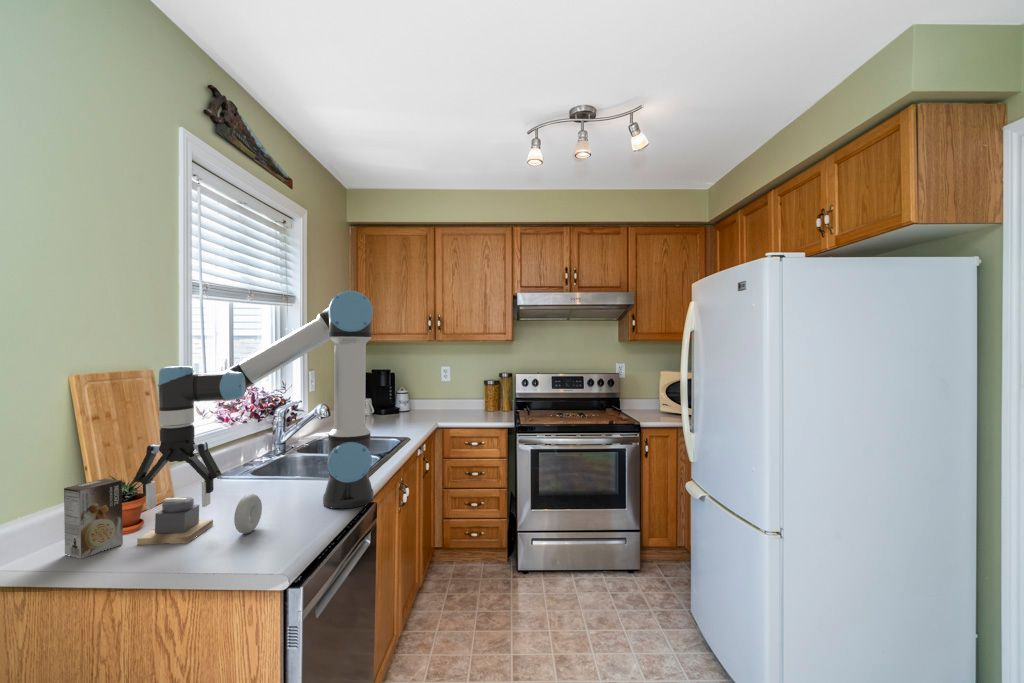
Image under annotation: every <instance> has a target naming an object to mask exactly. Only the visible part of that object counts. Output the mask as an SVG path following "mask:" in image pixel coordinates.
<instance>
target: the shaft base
mask: <svg viewBox="0 0 1024 683" xmlns="http://www.w3.org/2000/svg"><path fill="white" fill-rule="evenodd" d="M212 525H213V526H214V519H199V523H198V524H197V525H195V526H194V527H192V528H191V529H190V530H188V531H187V532H185V533H155V527H154V528H153V529H151V530H150V531H147V532H146V533H144V534H143V535H141V536H139V537H138V538H137V539H136V540H137V541H136V543H137V544H136V545H137V546H138V545H139V546H140V545H142V546H143V545H162V544H163V545H165V544H164V543H170V544H184V543H183V542H189V543H191V540H192V539H193V540H195V539H196V538H197V537H198V535H199V534H200V535H202V534H203V533H204V532H206V531H207V530H208V529H210V528H211V527H213V526H212ZM209 527H210V528H209ZM206 529H207V530H206ZM205 530H206V531H205ZM202 532H203V533H202ZM200 535H199V536H200ZM196 536H197V537H196ZM195 537H196V538H195ZM193 540H192V541H193Z"/></svg>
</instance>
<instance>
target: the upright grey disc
mask: <svg viewBox="0 0 1024 683" xmlns="http://www.w3.org/2000/svg"><path fill="white" fill-rule="evenodd" d="M262 505H263V503H262V500H261V498H260V497H259V495H257V494H255V493H249V494H248V493H247V494H246V495H244V496H243V497H242V498H240V500H239V502H238V503H237V505H236V508H235V512H234V516H233V518H234V519H233V521H234V527H235V529H236V530H237V532H239V533H240V534H244V535H247V534H250V533H251V532H253V531H254V530H255V529H256V528H257V526H258V525H259V522H260V519H261V518H262V510H263V506H262Z"/></svg>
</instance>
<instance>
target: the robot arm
mask: <svg viewBox="0 0 1024 683" xmlns="http://www.w3.org/2000/svg"><path fill="white" fill-rule="evenodd" d="M373 308H374V307H373V304H372V302H371V300H370V299H369V298H368V297H367V296H366V295H365V294H363V293H361V292H359V291H357V290H344V291H341V292H339V293H337V294H336V295H334V297H332V299H331V301H330V302H329V305H328V307H327V308H326V309H324V310H323V311H321V312H319V313H318V314H317V316H316V319H313V320H311V322H309V323H307V324H305V325H303V326H302V327H300V328H298V329H295V330H294V331H292V332H291V333H289V334H287V335H285V336H283V337H282V338H280V339H278V340H276V341H274V342H273V343H272V344H270V345H267V346H266V347H264V348H263V349H260V350H258V351H257V352H255V353H253V354H252V355H249V356H248V357H247V358H244V359H243V360H241V361H239V362H237V363H236V364H234V365H232V366H230V367H229V368H227V369H225V370H223V371H219V372H218V371H217V372H205V373H204V372H203V373H202V372H201V373H200V372H195V371H194V367H192V366H191V365H177V366H173V365H172V366H163V367H161V368H160V369H159V372H158V384H157V388H158V405H159V408H158V409H159V410H158V416H159V418H158V420H159V422H158V423H159V426H160V428H159V441H160V444H157V443H153V444H150V445H147V447H146V454H145V456H144V458H143V460H142V462H141V463H140V464H141V465H140V466H139V468H138V470H137V472H136V474H135V475H134V478H133V481H134V482H136V483H137V482H138V483H141V484H142V496H143V497H145V506H146V508H145V509H146V511H149V510H152V509H154V508H155V507H157V492H156V491H157V490H156V489H157V488H156V487H157V486H156V484H157V483H156V481H155V480H154V479H155V477H156V476H157V475H158V474H159V473H160V471H161V470H162V469H163V468H165V466H166V465H167V463H168V462H169V463H173V462H177V463H180V462H185V463H187V464H189V465H190V466H191V467H192V468H193V470H195V472H196V473H197V474H199V475H200V477H201V478H203V480H202V481H201V507H202V508H206V507H207V506H209V505H210V504H211V493H212V492H214V480H215V479H216V478H219V477H220V476H222V471H221V470H220V469H219V468H220V467H219V466H218V464H217V463H216V461H215V459H214V458H213V456H212V454H211V452H210V450H209V445H208V442H206V441H203V442H201V443H196V442H195V425H194V422H195V409H194V408H195V406H194V405H195V404H194V403H195V402H210V401H211V402H212V401H233V400H241V399H243V398H244V397H245V393H246V389H247V388H249V387H251V386H253V385H254V384H256V383H258V382H260V381H262V380H263V379H264V378H266V377H268V376H270V375H272V374H274V373H275V372H277V371H279V370H281V369H282V368H284V367H286V366H288V365H289V364H291V363H292V362H294V361H296V360H298V359H299V358H301V357H303V356H304V355H306V354H308V353H309V352H311V351H313V350H315V349H317V348H318V347H320V346H322V345H324V344H325V343H327V342H329V341H332V343H334V344H333V345H334V364H333V365H334V376H333V378H334V380H333V381H334V384H333V385H334V387H333V389H334V390H333V391H334V394H333V398H334V399H333V402H334V403H333V427H332V429H330V430H329V432H328V433H327V434H328V436H327V442H328V443H327V460H326V467H327V470H328V480H327V484H326V487H325V492H324V494H323V496H322V504H324V505H325V506H324V505H323V506H324V507H326V506H327V507H326V508H328V507H332V508H331V509H335V508H346V509H353V508H359V507H362V506H366V505H368V504H370V503H372V502H373V501H374V498H375V496H374V494H375V493H374V489H373V487H372V484H371V481H370V478H369V470H370V468H371V466H372V462H373V458H372V457H373V455H372V453H371V430H370V429H369V428H368V427H367V426H366V384H367V383H366V379H367V378H366V372H367V371H366V369H367V368H366V361H367V360H366V357H367V354H366V353H367V352H366V351H367V345H366V344H367V343H368V342H369V341H370V340H371V339H372V319H373V315H374V309H373ZM195 450H196V452H198V455H199V456H200V458H201V460H202V461H203V462H202V461H201V460H200V459H199V458H198V455H197V454H196V453H195ZM159 452H160V453H161V456H160V458H158V460H157V462H156V463H155V464H154V465H153V467H152V468H151V466H152V464H153V462H154V461H155V458H156V456H157V454H158V453H159ZM150 468H151V469H150Z"/></svg>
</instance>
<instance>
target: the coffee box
mask: <svg viewBox="0 0 1024 683" xmlns="http://www.w3.org/2000/svg"><path fill="white" fill-rule="evenodd" d="M122 483H123V480H122V479H114V478H101V479H97V480H93V481H89V482H88V481H87V482H84V483H79V484H75V485H71V486H68V487H64V488H63V499H64V500H63V505H64V506H63V507H64V508H63V509H64V512H63V513H64V515H63V516H64V520H63V521H64V523H63V525H64V555H65V554H67V555H70V556H73V557H72V558H75V557H76V559H79V558H83V559H85V558H88V557H91V556H93V554H94V555H96V554H95V553H97V554H99V553H101V552H100V551H102V552H104V550H105V551H108V550H111V549H113V548H116V547H118V546H122V545H123V544H124V539H123V538H124V533H123V531H124V530H123V484H122ZM110 548H111V549H110ZM107 549H108V550H107ZM98 552H99V553H98ZM90 555H91V556H90ZM70 556H69V557H70Z"/></svg>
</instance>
